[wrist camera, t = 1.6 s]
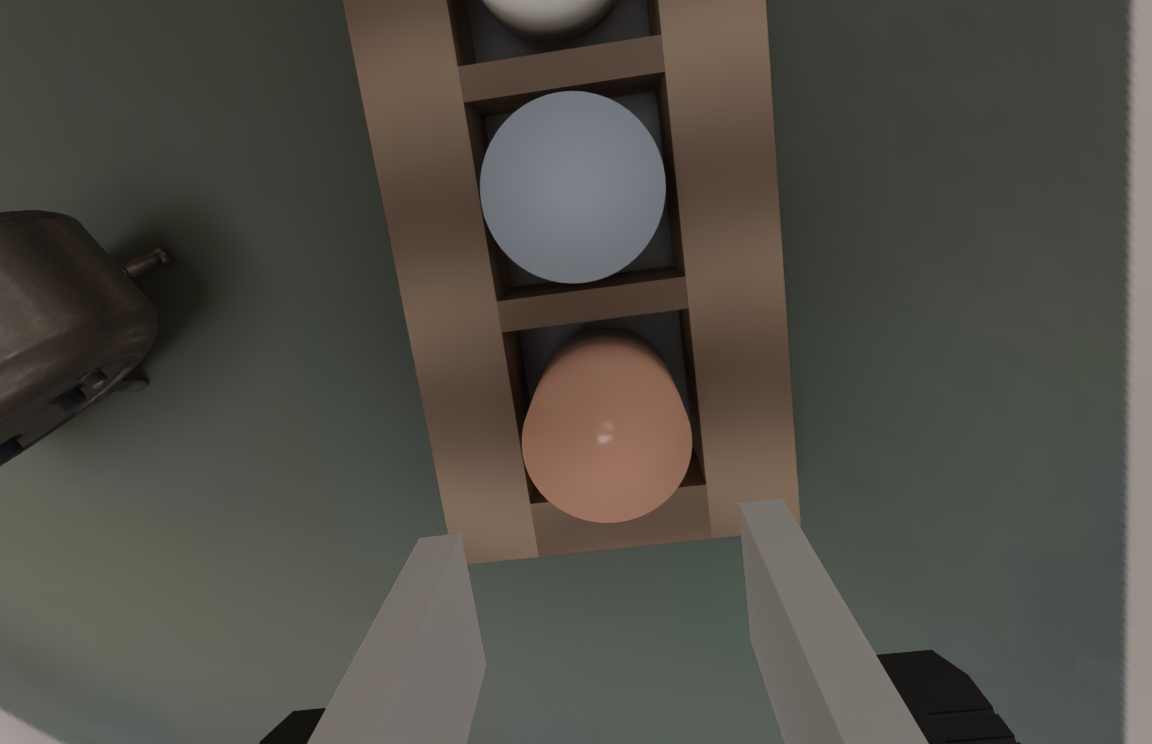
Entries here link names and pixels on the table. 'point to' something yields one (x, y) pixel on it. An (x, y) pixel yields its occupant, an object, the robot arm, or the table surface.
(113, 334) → the alarm clock
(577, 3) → the ivory key
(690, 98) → the key block
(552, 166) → the blue-grey rounded piece
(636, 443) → the pink rounded cylinder
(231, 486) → the table surface
